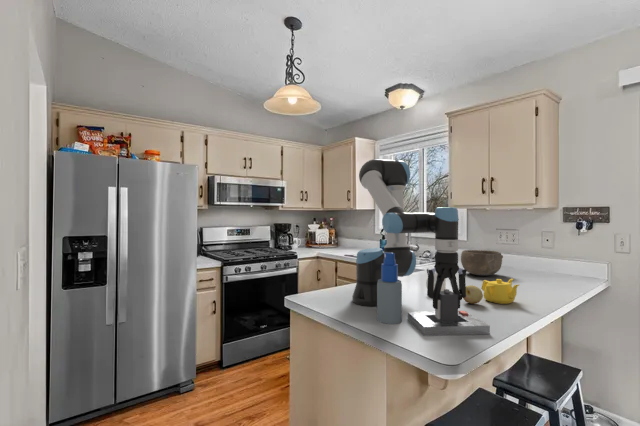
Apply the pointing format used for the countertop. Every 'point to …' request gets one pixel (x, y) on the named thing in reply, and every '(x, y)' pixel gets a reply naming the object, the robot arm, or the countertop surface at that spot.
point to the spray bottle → (389, 292)
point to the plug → (448, 306)
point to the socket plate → (448, 324)
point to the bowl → (481, 261)
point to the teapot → (499, 291)
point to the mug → (435, 282)
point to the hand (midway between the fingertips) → (446, 317)
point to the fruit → (473, 294)
